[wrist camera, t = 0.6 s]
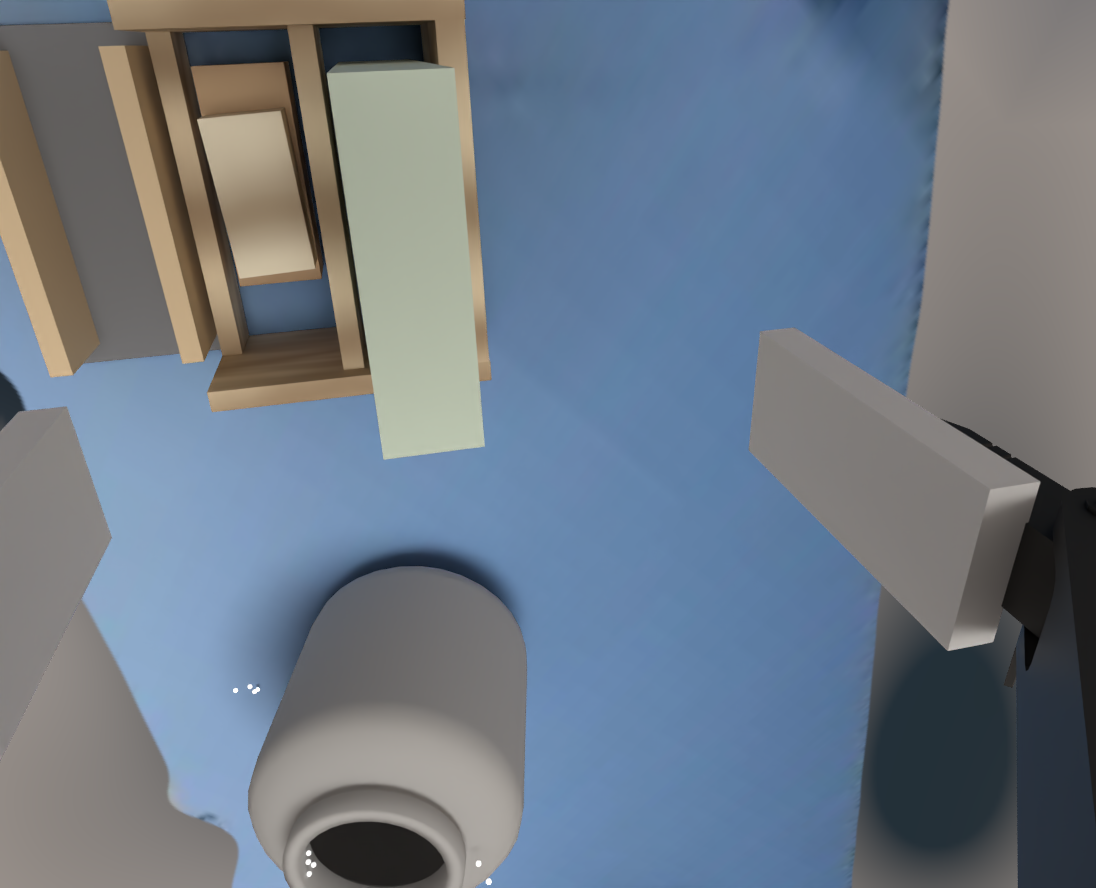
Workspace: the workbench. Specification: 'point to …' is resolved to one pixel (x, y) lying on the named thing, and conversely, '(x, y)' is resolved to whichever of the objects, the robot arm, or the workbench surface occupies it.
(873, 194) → the workbench surface
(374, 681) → the jar
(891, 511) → the robot arm
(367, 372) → the rack
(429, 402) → the pale green block
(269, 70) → the offcut low
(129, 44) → the holder
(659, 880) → the workbench surface
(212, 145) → the offcut top
